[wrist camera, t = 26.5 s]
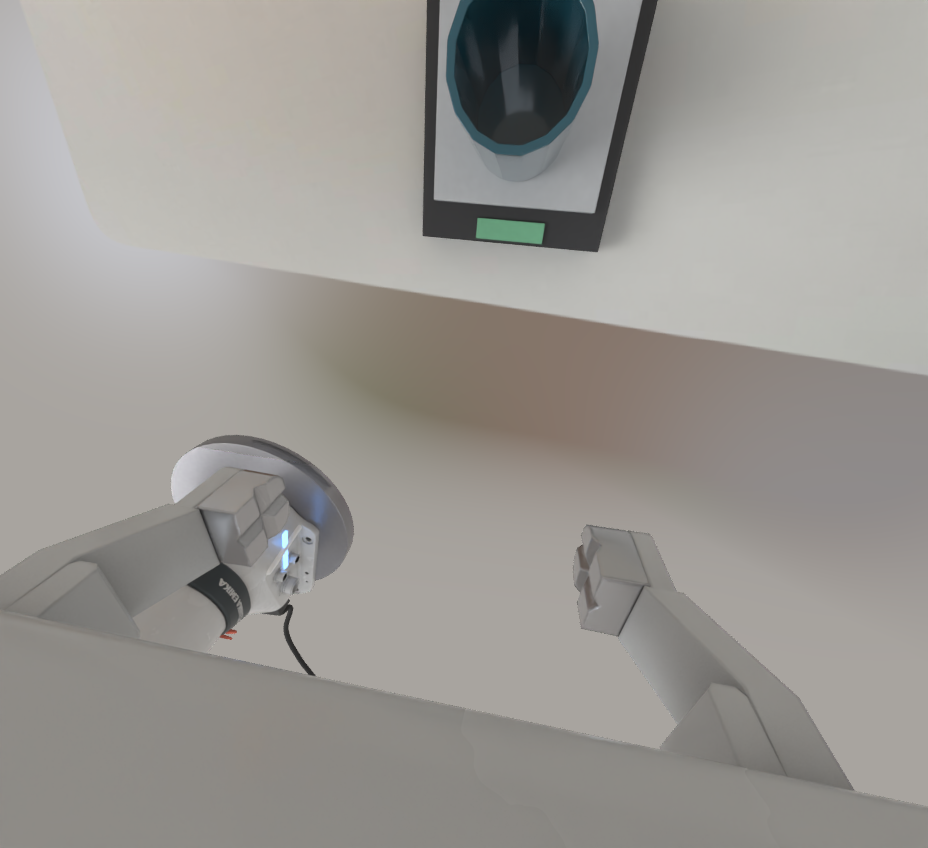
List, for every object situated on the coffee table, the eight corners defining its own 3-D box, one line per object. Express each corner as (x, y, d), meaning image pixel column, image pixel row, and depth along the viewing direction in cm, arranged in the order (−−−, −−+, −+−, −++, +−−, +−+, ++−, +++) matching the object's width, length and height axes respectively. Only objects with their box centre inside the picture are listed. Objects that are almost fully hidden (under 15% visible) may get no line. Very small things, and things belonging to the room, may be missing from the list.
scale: (592, 250, 29) (599, 252, 27) (429, 235, 31) (420, 235, 28) (648, 9, 23) (665, -22, 20) (435, 2, 24) (424, -28, 21)
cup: (557, 185, 25) (577, 159, 16) (469, 178, 26) (442, 149, 17) (579, 62, 22) (617, -51, 13) (478, 57, 22) (450, -54, 14)
